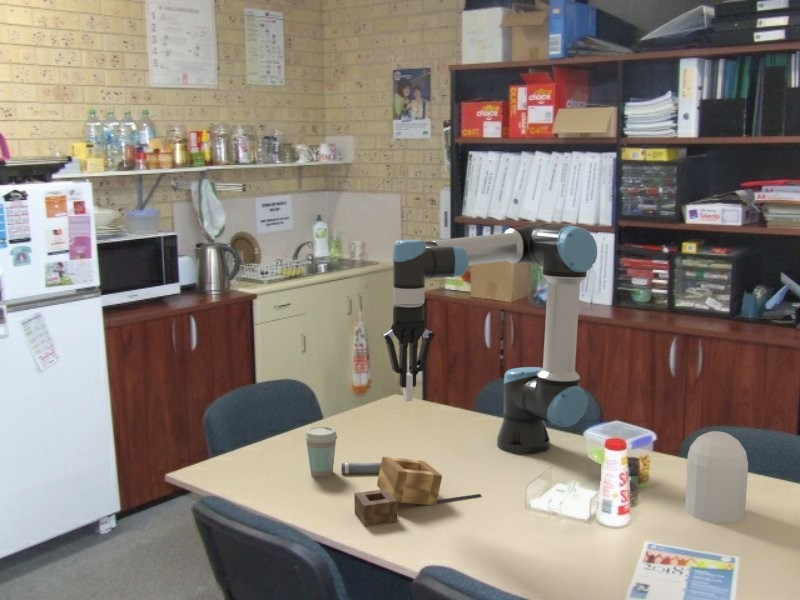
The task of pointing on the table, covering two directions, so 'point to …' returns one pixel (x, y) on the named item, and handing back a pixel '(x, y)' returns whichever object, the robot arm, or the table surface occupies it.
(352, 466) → the gray tube
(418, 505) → the grey long thin rod
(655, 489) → the table surface
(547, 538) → the table surface
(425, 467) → the light wooden square box
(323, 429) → the coffee cup
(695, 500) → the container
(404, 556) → the table surface
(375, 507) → the bead dark
